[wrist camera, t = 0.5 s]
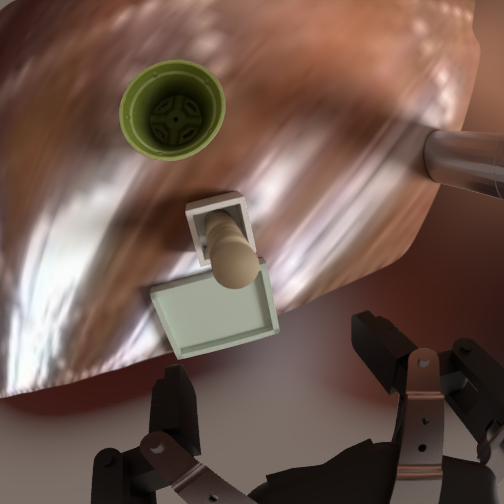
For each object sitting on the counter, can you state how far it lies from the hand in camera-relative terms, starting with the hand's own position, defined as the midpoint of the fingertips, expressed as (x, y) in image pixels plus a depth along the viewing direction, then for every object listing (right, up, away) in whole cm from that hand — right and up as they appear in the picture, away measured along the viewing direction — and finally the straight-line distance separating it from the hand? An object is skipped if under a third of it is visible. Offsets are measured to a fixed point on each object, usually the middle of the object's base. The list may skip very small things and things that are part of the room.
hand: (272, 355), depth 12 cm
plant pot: (-10, +20, +17) cm, 28 cm away
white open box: (-5, +8, +22) cm, 24 cm away
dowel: (-5, +8, +21) cm, 23 cm away
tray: (-6, -3, +26) cm, 26 cm away
